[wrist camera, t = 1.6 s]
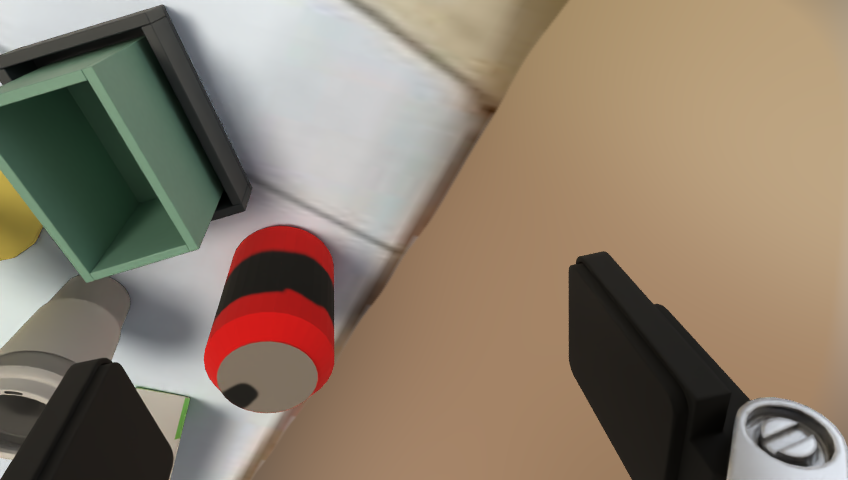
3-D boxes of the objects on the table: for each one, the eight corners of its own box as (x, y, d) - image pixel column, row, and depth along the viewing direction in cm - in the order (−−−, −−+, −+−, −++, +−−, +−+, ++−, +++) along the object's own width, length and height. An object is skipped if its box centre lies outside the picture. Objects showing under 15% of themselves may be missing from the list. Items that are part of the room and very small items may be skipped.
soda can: (211, 260, 39) (168, 375, 29) (289, 204, 38) (273, 304, 28) (280, 320, 43) (264, 441, 33) (353, 271, 42) (360, 381, 31)
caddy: (47, 64, 31) (-48, 108, 23) (152, 32, 31) (91, 66, 23) (138, 208, 36) (86, 283, 28) (227, 181, 36) (199, 249, 28)
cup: (151, 271, 39) (87, 392, 29) (145, 338, 42) (85, 470, 32) (42, 253, 37) (-69, 376, 27) (43, 325, 40) (-56, 460, 30)
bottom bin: (19, 47, 30) (-15, 60, 27) (163, 4, 30) (145, 12, 27) (133, 224, 37) (116, 250, 34) (252, 188, 37) (245, 211, 34)
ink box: (192, 395, 46) (161, 478, 50) (131, 385, 44) (104, 472, 49) (171, 484, 39) (137, 571, 43) (96, 476, 37) (69, 568, 41)
